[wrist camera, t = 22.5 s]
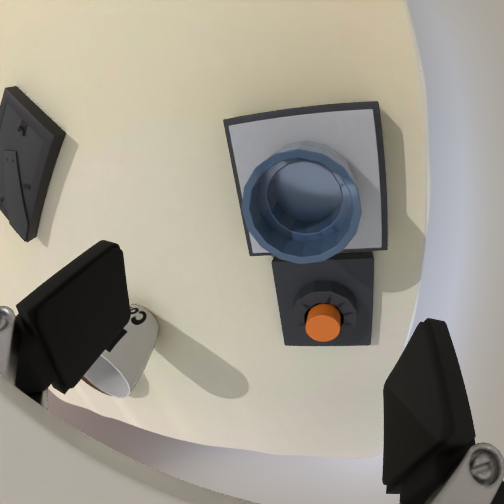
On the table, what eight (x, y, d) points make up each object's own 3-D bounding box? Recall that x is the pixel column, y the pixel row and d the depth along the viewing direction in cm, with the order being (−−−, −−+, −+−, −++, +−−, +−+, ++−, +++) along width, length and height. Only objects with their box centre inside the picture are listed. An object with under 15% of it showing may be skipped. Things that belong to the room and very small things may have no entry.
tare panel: (273, 255, 29) (266, 272, 26) (372, 251, 26) (375, 268, 24) (286, 338, 33) (281, 357, 30) (370, 337, 30) (370, 357, 28)
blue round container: (267, 132, 21) (248, 140, 17) (365, 152, 20) (373, 165, 16) (256, 221, 25) (237, 249, 20) (344, 241, 23) (344, 274, 19)
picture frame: (36, 237, 38) (66, 133, 29) (25, 243, 36) (51, 136, 27) (-7, 185, 36) (15, 85, 27) (-17, 190, 34) (3, 87, 25)
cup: (159, 297, 35) (112, 353, 27) (176, 348, 39) (140, 405, 30) (108, 292, 38) (61, 339, 29) (128, 339, 41) (90, 388, 32)
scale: (232, 118, 24) (219, 120, 22) (374, 101, 21) (379, 101, 18) (256, 244, 29) (247, 259, 26) (384, 238, 25) (388, 253, 23)
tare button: (306, 303, 27) (304, 315, 26) (340, 302, 26) (339, 314, 25) (309, 329, 28) (306, 341, 27) (341, 329, 28) (340, 341, 26)
